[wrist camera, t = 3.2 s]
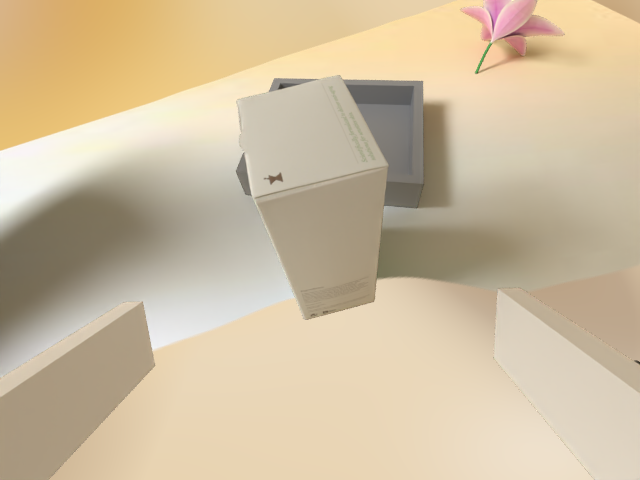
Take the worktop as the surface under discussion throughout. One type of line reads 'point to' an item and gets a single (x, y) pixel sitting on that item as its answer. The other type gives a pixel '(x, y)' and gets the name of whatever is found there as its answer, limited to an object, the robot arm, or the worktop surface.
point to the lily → (510, 23)
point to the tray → (383, 133)
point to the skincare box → (317, 190)
